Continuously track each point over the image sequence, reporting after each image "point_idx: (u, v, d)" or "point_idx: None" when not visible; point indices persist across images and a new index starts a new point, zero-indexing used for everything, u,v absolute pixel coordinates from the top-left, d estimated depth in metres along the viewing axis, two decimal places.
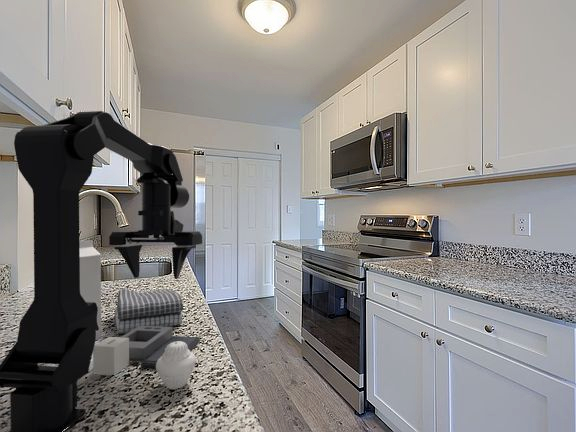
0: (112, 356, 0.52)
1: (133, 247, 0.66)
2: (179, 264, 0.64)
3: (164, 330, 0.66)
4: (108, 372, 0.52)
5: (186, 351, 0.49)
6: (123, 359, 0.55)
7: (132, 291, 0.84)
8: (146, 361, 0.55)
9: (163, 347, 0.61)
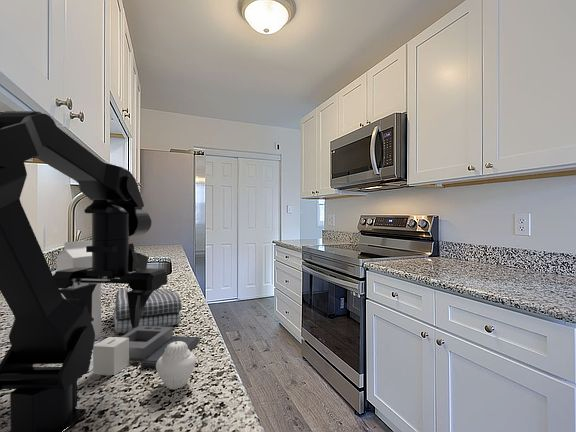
0: (112, 356, 0.52)
1: (83, 289, 0.55)
2: (137, 311, 0.53)
3: (164, 330, 0.66)
4: (108, 372, 0.52)
5: (186, 351, 0.49)
6: (123, 359, 0.55)
7: None
8: (146, 361, 0.55)
9: (163, 347, 0.61)
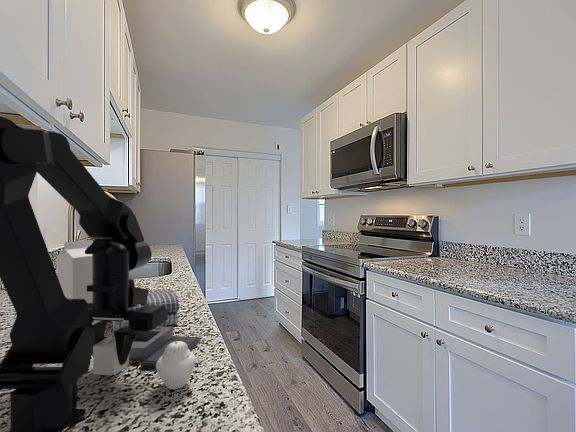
0: (112, 355, 0.52)
1: (96, 326, 0.54)
2: (124, 349, 0.53)
3: (164, 330, 0.66)
4: (108, 372, 0.52)
5: (186, 351, 0.49)
6: None
7: None
8: (146, 361, 0.55)
9: (163, 347, 0.61)
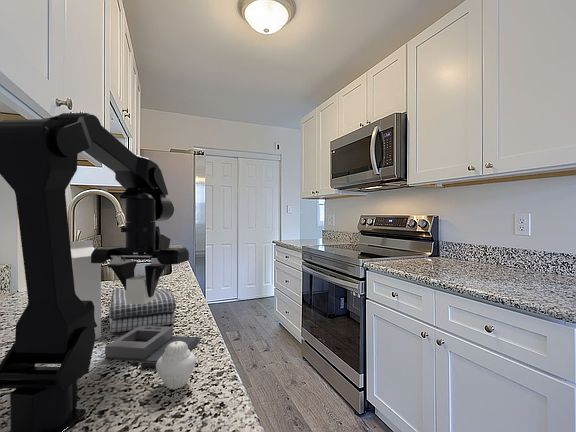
0: (142, 287, 0.61)
1: (127, 264, 0.63)
2: (153, 283, 0.62)
3: (164, 330, 0.66)
4: (139, 301, 0.61)
5: (186, 351, 0.49)
6: None
7: None
8: (146, 361, 0.55)
9: (163, 347, 0.61)
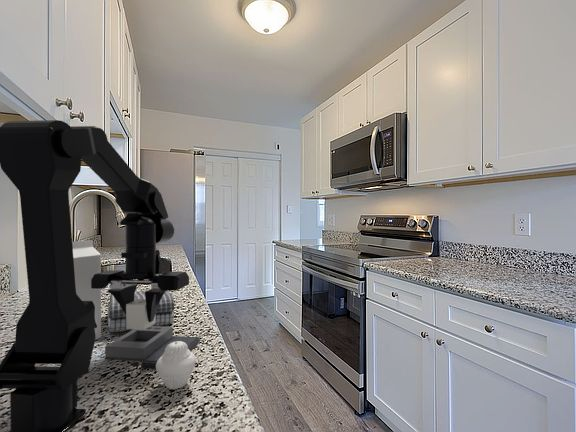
0: (142, 312, 0.61)
1: (127, 289, 0.63)
2: (153, 308, 0.62)
3: (164, 330, 0.66)
4: (139, 326, 0.61)
5: (186, 351, 0.49)
6: None
7: None
8: (146, 361, 0.55)
9: (163, 347, 0.61)
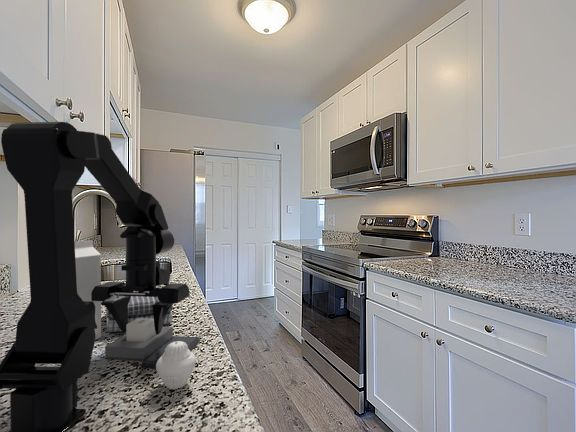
0: (142, 333, 0.61)
1: (121, 301, 0.64)
2: (160, 320, 0.62)
3: (164, 330, 0.66)
4: None
5: (186, 351, 0.49)
6: (151, 336, 0.64)
7: None
8: (146, 361, 0.55)
9: (163, 347, 0.61)
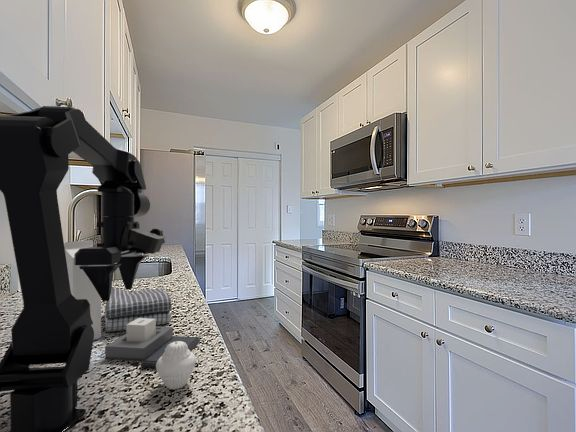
0: (142, 333, 0.61)
1: (127, 258, 0.66)
2: (97, 285, 0.55)
3: (164, 330, 0.66)
4: None
5: (186, 351, 0.49)
6: (151, 336, 0.64)
7: (122, 290, 0.85)
8: (146, 361, 0.55)
9: (163, 347, 0.61)
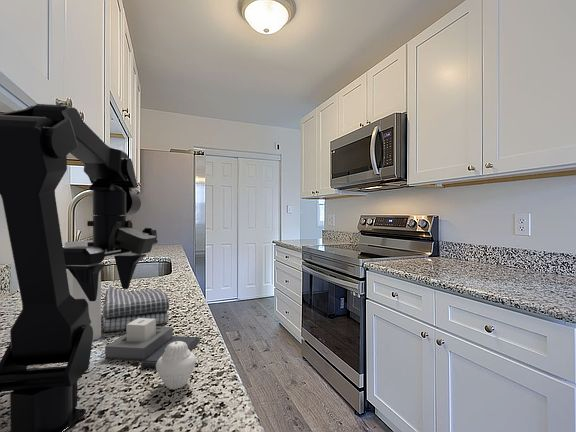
0: (142, 333, 0.61)
1: (125, 257, 0.65)
2: (82, 285, 0.54)
3: (164, 330, 0.66)
4: None
5: (186, 351, 0.49)
6: (151, 336, 0.64)
7: (120, 290, 0.86)
8: (146, 361, 0.55)
9: (163, 347, 0.61)
